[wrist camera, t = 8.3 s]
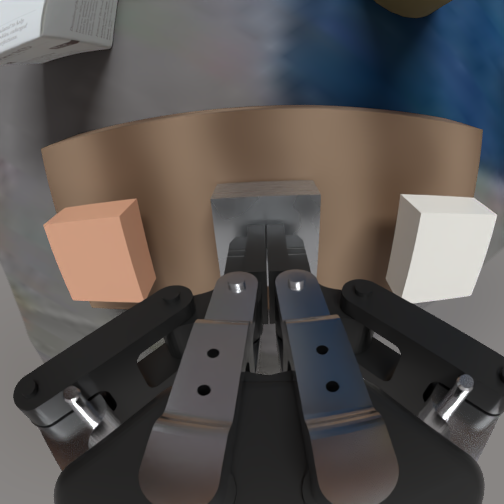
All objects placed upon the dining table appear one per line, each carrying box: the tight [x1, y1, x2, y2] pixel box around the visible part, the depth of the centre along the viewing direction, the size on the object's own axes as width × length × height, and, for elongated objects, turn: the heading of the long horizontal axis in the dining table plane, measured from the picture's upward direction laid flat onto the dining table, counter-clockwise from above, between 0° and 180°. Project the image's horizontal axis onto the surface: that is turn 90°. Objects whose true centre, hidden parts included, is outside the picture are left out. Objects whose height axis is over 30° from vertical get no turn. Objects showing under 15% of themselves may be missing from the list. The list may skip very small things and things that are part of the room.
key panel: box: [41, 105, 483, 309], centre depth 16 cm, size 24×11×4 cm, turn 93°
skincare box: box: [0, 0, 118, 66], centre depth 8 cm, size 6×6×7 cm
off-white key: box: [386, 194, 497, 303], centre depth 12 cm, size 4×4×2 cm
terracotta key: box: [44, 199, 156, 303], centre depth 13 cm, size 4×4×2 cm
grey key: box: [210, 180, 321, 286], centre depth 14 cm, size 4×4×2 cm
